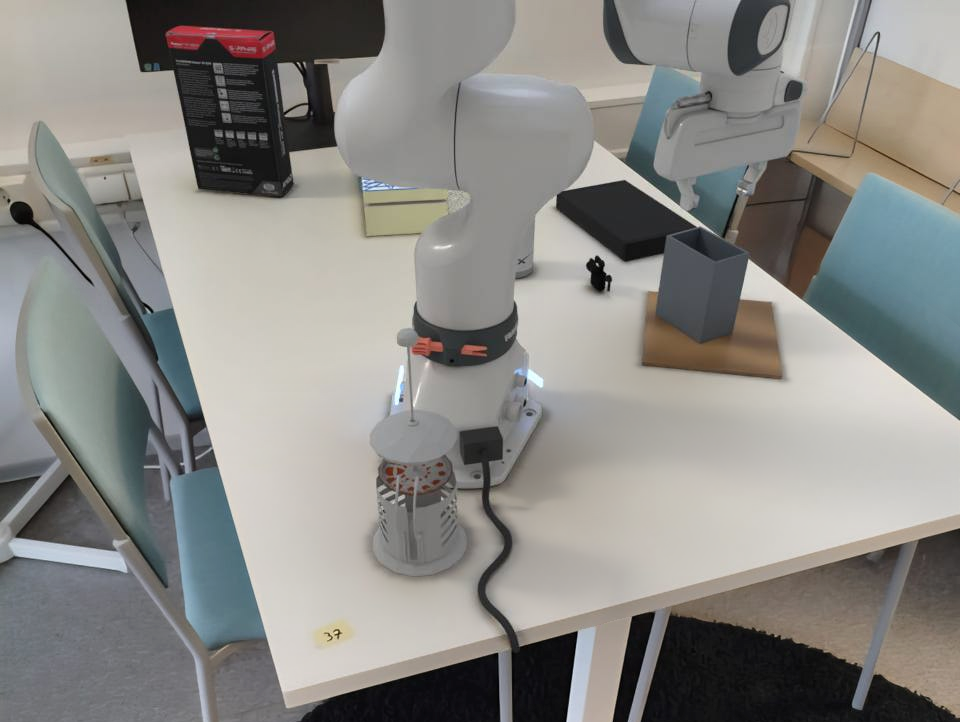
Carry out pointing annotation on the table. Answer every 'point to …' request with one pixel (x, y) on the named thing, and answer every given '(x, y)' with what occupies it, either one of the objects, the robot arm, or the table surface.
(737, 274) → the grey basket
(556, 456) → the table surface
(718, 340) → the cork pad
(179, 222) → the table surface
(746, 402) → the table surface
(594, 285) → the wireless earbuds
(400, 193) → the cream box
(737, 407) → the table surface
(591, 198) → the external hard drive
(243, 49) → the graphics card box
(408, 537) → the french press
